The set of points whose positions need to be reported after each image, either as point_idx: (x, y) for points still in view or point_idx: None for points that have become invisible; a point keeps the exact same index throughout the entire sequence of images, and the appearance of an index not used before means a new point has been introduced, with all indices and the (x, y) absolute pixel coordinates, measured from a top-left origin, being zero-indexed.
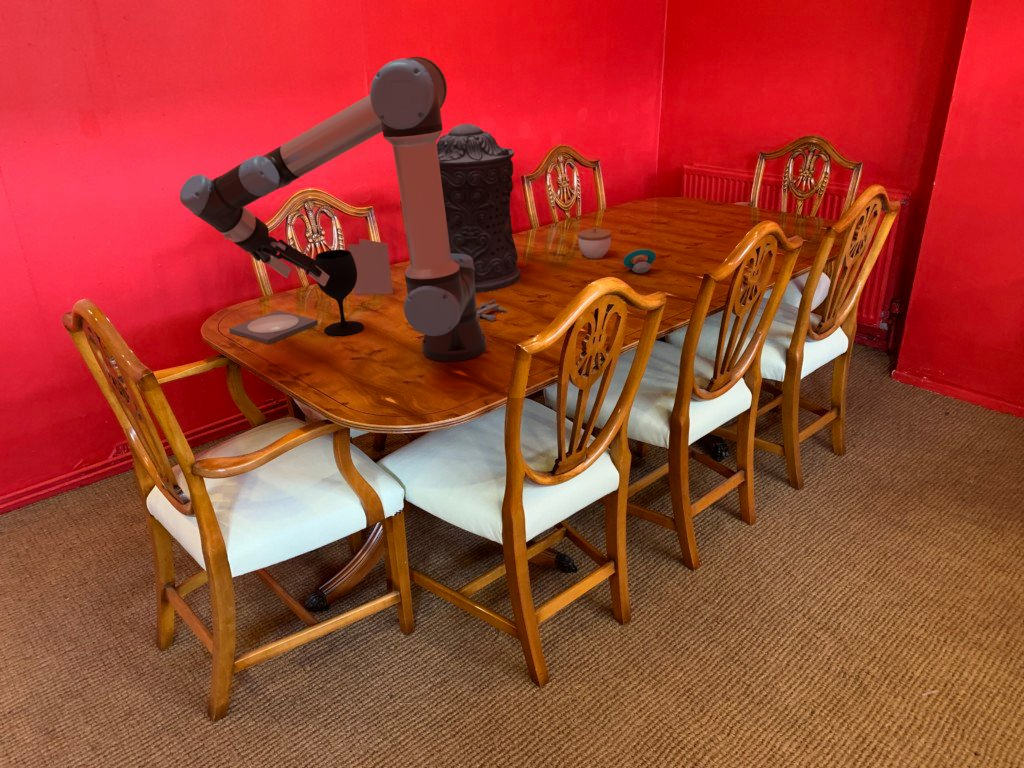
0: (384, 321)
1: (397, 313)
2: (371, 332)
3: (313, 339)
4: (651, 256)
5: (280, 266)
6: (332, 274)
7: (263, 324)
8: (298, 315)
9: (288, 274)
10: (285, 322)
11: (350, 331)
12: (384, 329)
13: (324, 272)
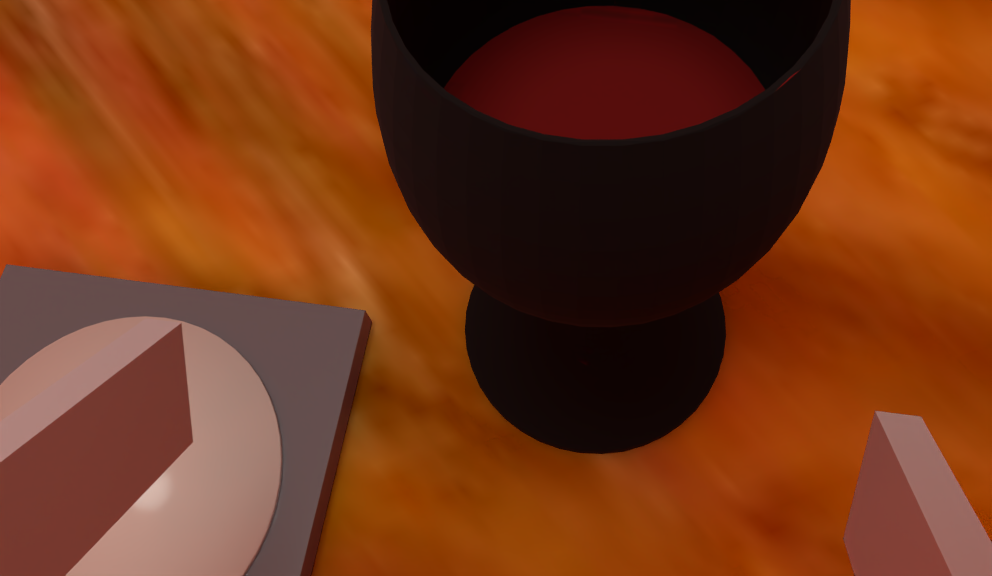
0: None
1: None
2: (798, 303)
3: (516, 547)
4: None
5: (83, 480)
6: (740, 241)
7: None
8: (190, 290)
9: (185, 407)
10: None
11: (689, 364)
12: (838, 234)
13: (959, 488)
